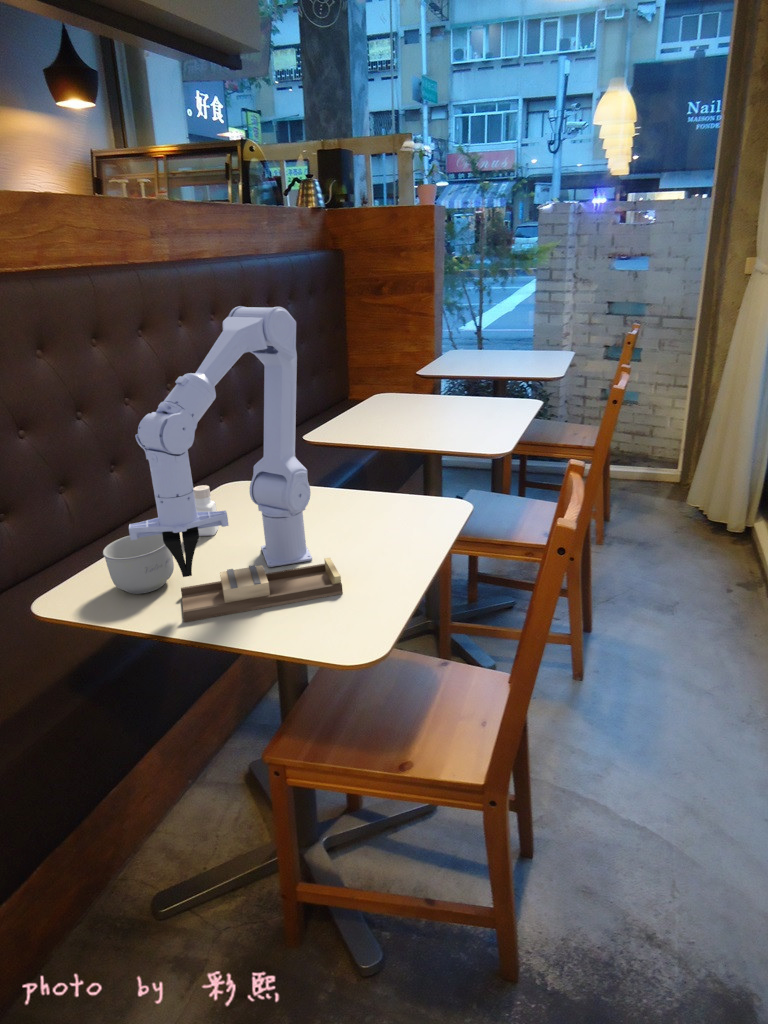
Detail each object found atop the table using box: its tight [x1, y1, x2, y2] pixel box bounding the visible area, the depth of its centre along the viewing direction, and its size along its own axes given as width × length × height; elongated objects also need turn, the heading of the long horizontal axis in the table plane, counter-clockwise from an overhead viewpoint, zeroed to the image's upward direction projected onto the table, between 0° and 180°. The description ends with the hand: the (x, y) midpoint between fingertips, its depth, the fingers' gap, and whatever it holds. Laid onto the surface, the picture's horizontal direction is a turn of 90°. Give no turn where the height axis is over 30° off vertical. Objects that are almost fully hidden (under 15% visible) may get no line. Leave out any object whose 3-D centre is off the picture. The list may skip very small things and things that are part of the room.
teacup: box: [102, 534, 175, 595], centre depth 128 cm, size 14×11×8 cm
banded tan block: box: [219, 564, 270, 603], centre depth 121 cm, size 7×7×3 cm
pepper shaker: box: [193, 484, 220, 537], centre depth 148 cm, size 4×4×10 cm
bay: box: [180, 557, 344, 623], centre depth 122 cm, size 9×25×3 cm, turn 106°
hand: (187, 574), depth 117 cm, fingers closed
